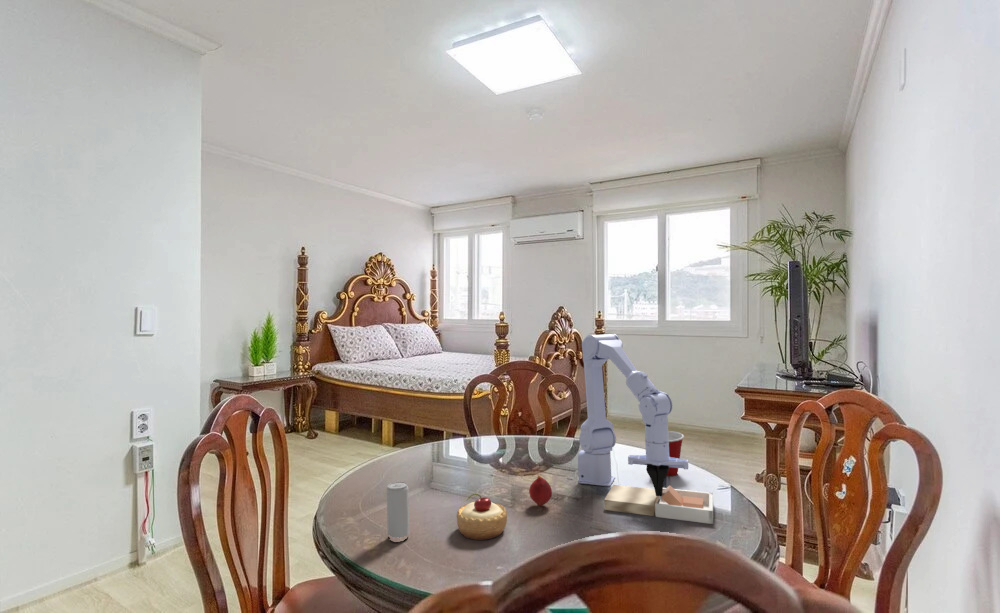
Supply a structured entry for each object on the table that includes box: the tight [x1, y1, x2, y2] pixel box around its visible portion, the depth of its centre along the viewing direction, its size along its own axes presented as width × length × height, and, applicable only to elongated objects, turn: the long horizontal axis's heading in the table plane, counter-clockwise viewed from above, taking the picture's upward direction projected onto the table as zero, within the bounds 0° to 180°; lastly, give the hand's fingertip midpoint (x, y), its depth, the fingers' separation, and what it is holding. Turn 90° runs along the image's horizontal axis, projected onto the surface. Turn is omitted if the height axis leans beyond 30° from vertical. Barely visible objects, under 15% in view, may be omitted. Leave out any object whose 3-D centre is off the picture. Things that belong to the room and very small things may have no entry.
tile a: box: [660, 484, 684, 506], centre depth 122 cm, size 4×4×2 cm
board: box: [603, 484, 660, 517], centre depth 126 cm, size 12×12×2 cm
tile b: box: [683, 496, 704, 509], centre depth 120 cm, size 4×4×2 cm
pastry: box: [456, 493, 508, 541], centre depth 113 cm, size 12×12×9 cm
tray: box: [654, 487, 714, 525], centre depth 121 cm, size 13×13×3 cm
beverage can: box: [386, 481, 410, 538], centre depth 110 cm, size 5×5×12 cm
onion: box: [528, 474, 553, 507], centre depth 127 cm, size 6×6×8 cm
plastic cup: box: [658, 430, 685, 477], centre depth 150 cm, size 11×11×12 cm
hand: (659, 494), depth 123 cm, fingers closed
